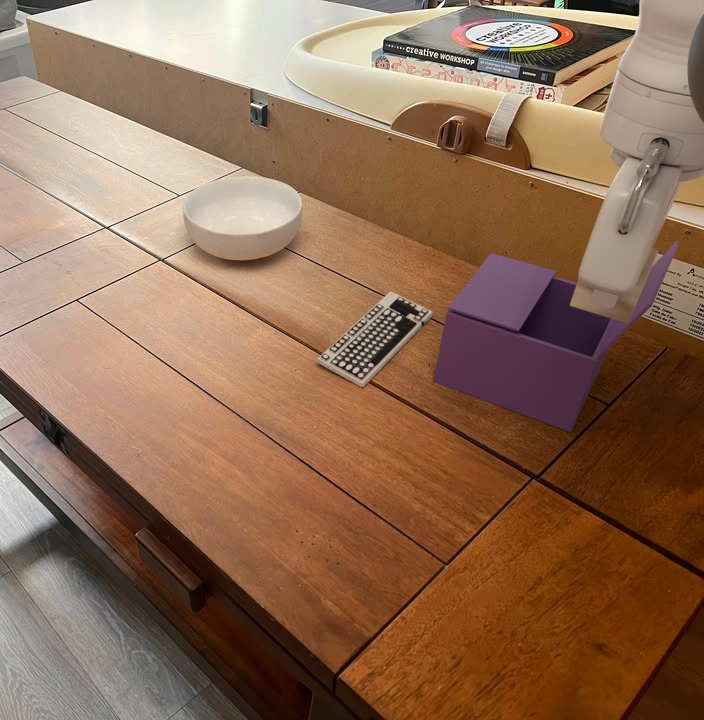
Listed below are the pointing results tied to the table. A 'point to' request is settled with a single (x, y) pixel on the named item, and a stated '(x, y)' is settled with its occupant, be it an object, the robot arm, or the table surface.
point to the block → (624, 303)
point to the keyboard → (375, 339)
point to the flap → (642, 298)
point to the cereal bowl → (242, 216)
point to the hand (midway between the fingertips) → (612, 284)
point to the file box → (522, 342)
